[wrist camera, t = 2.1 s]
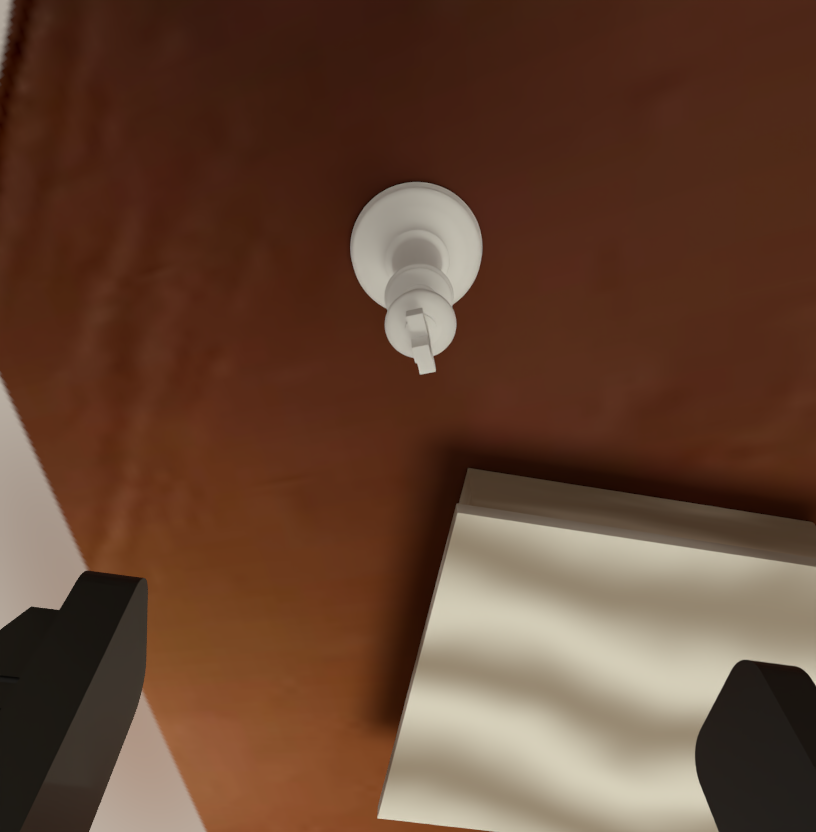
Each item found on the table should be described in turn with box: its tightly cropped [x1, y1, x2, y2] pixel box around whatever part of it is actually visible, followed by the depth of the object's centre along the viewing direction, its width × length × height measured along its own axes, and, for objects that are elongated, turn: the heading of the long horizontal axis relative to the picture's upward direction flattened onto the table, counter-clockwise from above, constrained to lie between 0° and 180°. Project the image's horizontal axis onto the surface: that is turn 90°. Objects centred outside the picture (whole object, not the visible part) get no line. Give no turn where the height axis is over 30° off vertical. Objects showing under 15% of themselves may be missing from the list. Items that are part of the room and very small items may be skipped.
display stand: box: [378, 468, 816, 832], centre depth 34 cm, size 18×18×5 cm
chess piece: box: [350, 182, 482, 375], centre depth 23 cm, size 5×5×10 cm
